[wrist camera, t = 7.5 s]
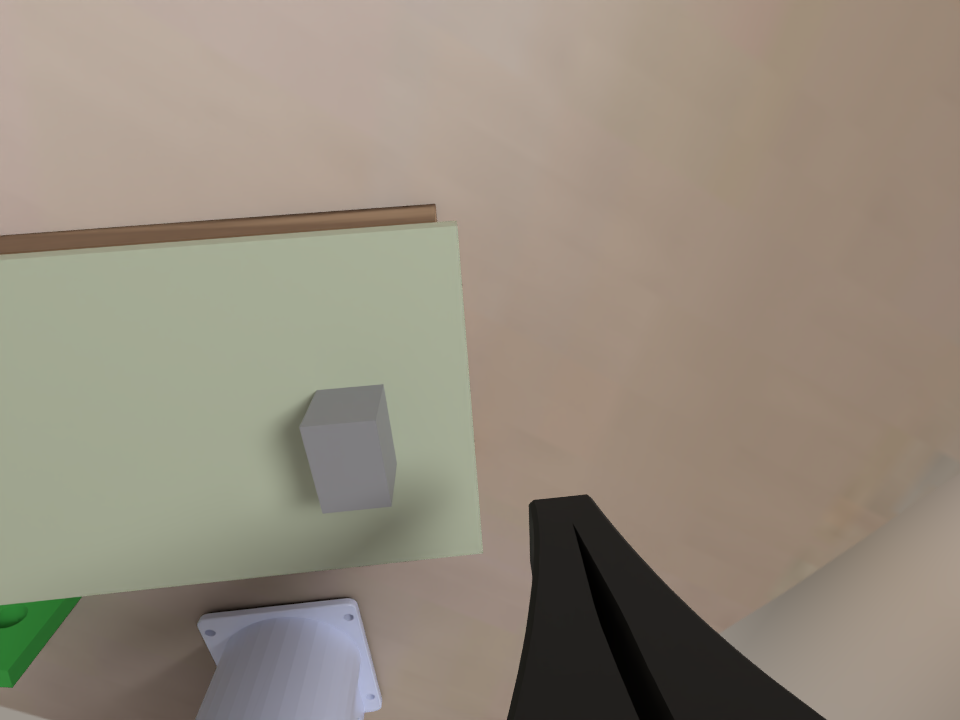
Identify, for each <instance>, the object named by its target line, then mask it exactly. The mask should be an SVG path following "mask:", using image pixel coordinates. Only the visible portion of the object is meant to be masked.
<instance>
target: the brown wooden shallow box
mask: <svg viewBox="0 0 960 720" xmlns="http://www.w3.org/2000/svg"><path fill="white" fill-rule="evenodd" d="M433 222H437V216H436V206H435V204H427V205H413V206H400V207H386V208H372V209H358V210H345V211H331V212H317V213H304V214H290V215H276V216H262V217H249V218H235V219H221V220H208V221H194V222H180V223H166V224H153V225H139V226H125V227H112V228H98V229H84V230H71V231H57V232H43V233H29V234H16V235H2V236H0V255H5V254H18V253H31V252H45V251H58V250H72V249H85V248H98V247H112V246H125V245H138V244H152V243H165V242H179V241H192V240H205V239H219V238H232V237H245V236H259V235H272V234H286V233H299V232H312V231H326V230H339V229H353V228H366V227H379V226H393V225H406V224H419V223H433Z"/></svg>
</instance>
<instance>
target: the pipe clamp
mask: <svg viewBox="0 0 960 720" xmlns="http://www.w3.org/2000/svg"><path fill="white" fill-rule="evenodd" d="M81 597H82V596H81ZM81 597H72V598H63V599H54V600H44V601H35V602H26V603H16V604H7V605H0V687H10V688H13V686H14V685H15V684H16V682H17V681H18V680H19V679H20V677H21V676H22V675H23V673H24V672H25V671H26V669H27V668H28V667H29V665H30V664H31V663H32V661H33V660H34V659H35V658H36V656H37V655H38V654H39V652H40V651H41V650H42V648H43V647H44V646H45V644H46V643H47V642H48V640H49V639H50V638H51V637H52V635H53V634H54V633H55V631H56V630H57V629H58V627H59V626H60V625H61V623H62V622H63V621H64V619H65V618H66V617H67V616H68V614H69V613H70V612H71V610H72V609H73V608H74V606H75V605H76V604H77V602H78V601H79V600H80V599H81Z"/></svg>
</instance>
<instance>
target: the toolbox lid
mask: <svg viewBox="0 0 960 720" xmlns="http://www.w3.org/2000/svg"><path fill="white" fill-rule="evenodd" d="M481 553H483V547H482V535H481V522H480V509H479V496H478V484H477V471H476V458H475V445H474V433H473V420H472V407H471V394H470V382H469V369H468V356H467V344H466V331H465V318H464V305H463V293H462V280H461V267H460V254H459V242H458V229H457V222H456V221H446V222H433V223H419V224H406V225H393V226H379V227H366V228H353V229H339V230H326V231H312V232H299V233H286V234H272V235H259V236H245V237H232V238H219V239H205V240H192V241H179V242H165V243H152V244H138V245H125V246H112V247H98V248H85V249H72V250H58V251H45V252H31V253H18V254H5V255H0V605H7V604H16V603H26V602H35V601H44V600H54V599H63V598H72V597H81V596H91V595H100V594H109V593H119V592H128V591H137V590H146V589H156V588H165V587H174V586H184V585H193V584H202V583H211V582H221V581H230V580H239V579H249V578H258V577H267V576H276V575H286V574H295V573H304V572H313V571H323V570H332V569H341V568H351V567H360V566H369V565H378V564H388V563H397V562H406V561H416V560H425V559H434V558H443V557H453V556H462V555H471V554H481Z"/></svg>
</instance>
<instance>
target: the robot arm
mask: <svg viewBox="0 0 960 720" xmlns="http://www.w3.org/2000/svg"><path fill="white" fill-rule="evenodd" d="M529 531H530V563H531V570H532V577H533V578H532V589H531V597H530V604H529V612H528V620H527V627H526V633H525V639H524V644H523V650H522V655H521V660H520V665H519V670H518V675H517V679H516V683H515V688H514V692H513V696H512V701H511V705H510V709H509V713H508V717H507V720H826V719H825V718H823V717H822V716H821V715H819V714H818V713H817V712H816V711H814V710H813V709H812V708H810V707H809V706H808V705H806V704H805V703H804V702H802V701H801V700H799V699H798V698H797V697H796V696H794V695H793V694H792V693H790V692H789V691H787V690H786V689H785V688H784V687H782V686H781V685H780V684H778V683H777V682H776V681H775V680H773V679H772V678H771V677H769V676H768V675H767V674H766V673H764V672H763V671H762V670H760V669H759V668H758V667H757V666H756V665H754V664H753V663H752V662H751V661H750V660H748V659H747V658H746V657H745V656H743V655H742V654H741V653H740V652H739V651H738V650H736V649H735V648H734V647H733V646H732V645H730V644H729V643H728V642H727V641H726V640H725V639H724V638H723V637H721V636H720V635H719V634H718V633H717V632H716V631H715V630H713V629H712V628H711V627H710V626H709V625H708V624H707V623H706V622H705V621H704V620H702V619H701V618H700V617H699V616H698V615H697V614H696V613H695V612H694V611H693V610H692V609H691V608H690V607H689V606H688V605H687V604H686V603H685V602H684V601H683V600H682V599H681V598H680V597H679V596H677V595H676V594H675V593H674V592H673V591H672V590H671V589H670V588H669V587H668V586H667V585H666V584H665V582H664V581H663V580H662V579H661V578H660V577H659V576H658V575H657V574H656V573H655V572H654V571H653V570H652V569H651V568H650V567H649V566H648V564H647V563H646V562H645V561H644V560H643V559H642V558H641V557H640V556H639V555H638V554H637V553H636V551H635V550H634V549H633V548H632V547H631V546H630V545H629V544H628V542H627V541H626V540H625V539H624V538H623V537H622V535H621V534H620V533H619V532H618V531H617V529H616V528H615V527H614V526H613V525H612V523H611V522H610V521H609V520H608V519H607V517H606V516H605V515H604V514H603V512H602V511H601V510H600V509H599V507H598V506H597V505H596V503H595V502H594V501H593V499H592V498H591V497H589V496H588V495H577V496H568V497H558V498H549V499H539V500H533V501H532V502H531V503H530V504H529ZM197 627H198V629H199V631H200V633H201V635H202V637H203V639H204V641H205V643H206V645H207V647H208V649H209V651H210V653H211V655H212V657H213V659H214V661H215V663H216V666H217V668H216V670H215V673H214V675H213V678H212V680H211V682H210V685H209V687H208V690H207V692H206V694H205V697H204V699H203V702H202V704H201V707H200V709H199V711H198V714H197V716H196V719H195V720H364V712H372V711H377V710H379V709H380V708H381V706H382V697H381V693H380V689H379V686H378V682H377V678H376V674H375V670H374V666H373V662H372V658H371V654H370V650H369V646H368V643H367V639H366V635H365V631H364V627H363V623H362V619H361V615H360V611H359V607H358V604H357V602H356V601H355V600H354V599H351V598H344V599H335V600H326V601H317V602H308V603H299V604H290V605H281V606H272V607H262V608H253V609H244V610H235V611H226V612H217V613H208V614H204V615H202V616H201V617H200V619H199V621H198V623H197Z"/></svg>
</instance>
